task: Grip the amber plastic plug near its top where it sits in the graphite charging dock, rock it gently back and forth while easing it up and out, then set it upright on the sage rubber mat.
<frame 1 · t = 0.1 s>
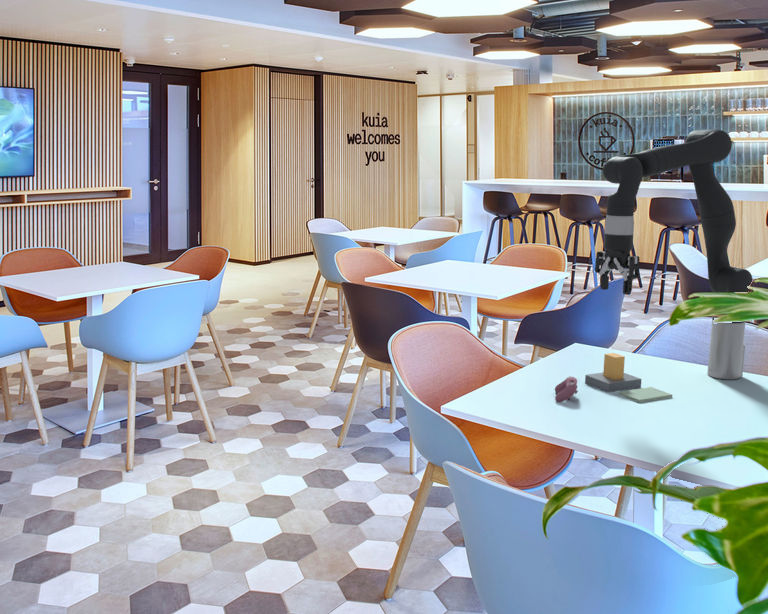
hand: (615, 291, 214), 29 cm above the table, fingers open, 8 cm apart
pink toy: (565, 398, 216), on the table
graphite dock: (612, 385, 228), on the table
sage mat: (645, 396, 218), on the table
amber plug: (613, 370, 227), in the graphite dock
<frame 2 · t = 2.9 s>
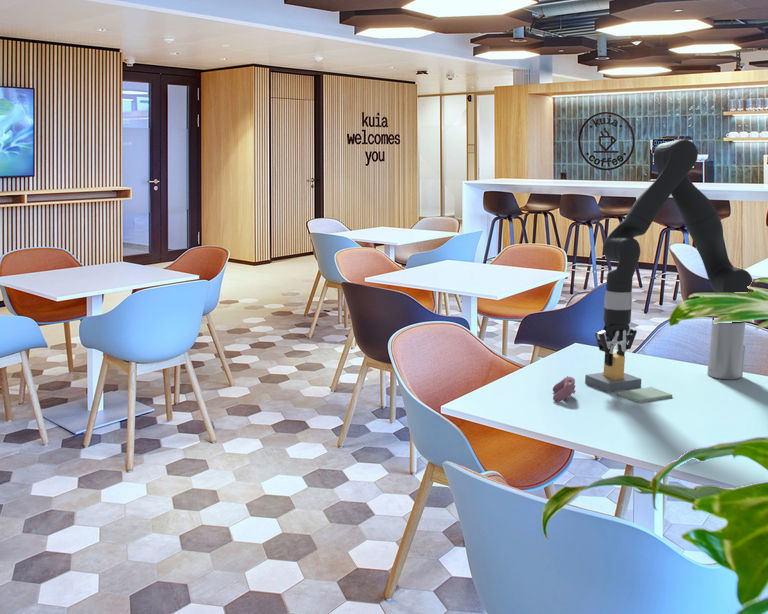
hand: (614, 364, 227), 6 cm above the table, fingers closed on amber plug, 3 cm apart
amber plug: (613, 370, 227), in the graphite dock, touching gripper
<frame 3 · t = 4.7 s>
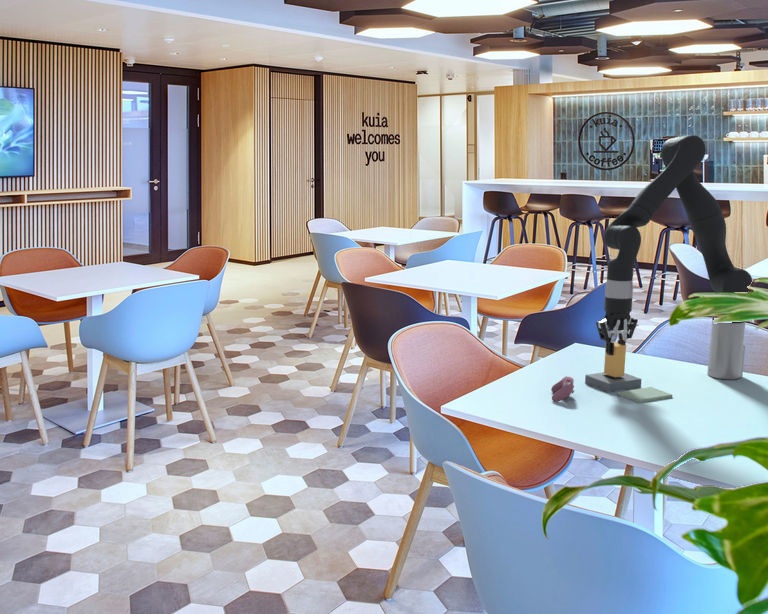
hand: (615, 353, 226), 9 cm above the table, fingers closed on amber plug, 3 cm apart
amber plug: (614, 359, 227), point 8 cm above the table, touching gripper
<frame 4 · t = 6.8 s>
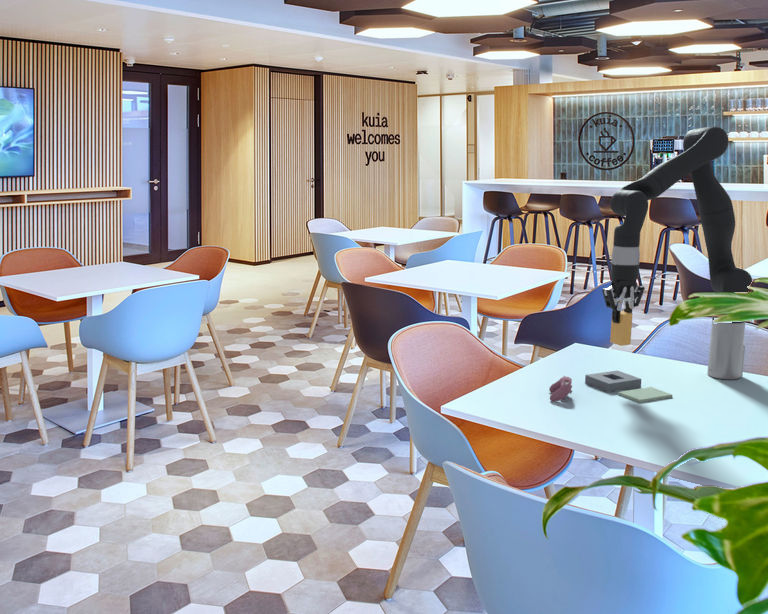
hand: (621, 322, 223), 19 cm above the table, fingers closed on amber plug, 3 cm apart
amber plug: (621, 328, 224), point 17 cm above the table, touching gripper
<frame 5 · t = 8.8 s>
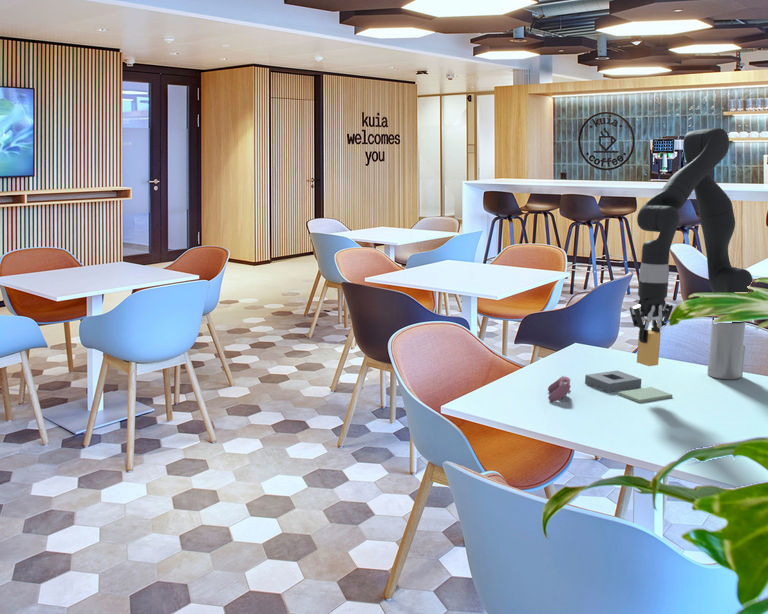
hand: (648, 341, 215), 16 cm above the table, fingers closed on amber plug, 3 cm apart
amber plug: (648, 347, 215), point 14 cm above the table, touching gripper
when the fingers open (8 cm above the table, at t = 10.8 s): amber plug stays where it is, resting on sage mat.
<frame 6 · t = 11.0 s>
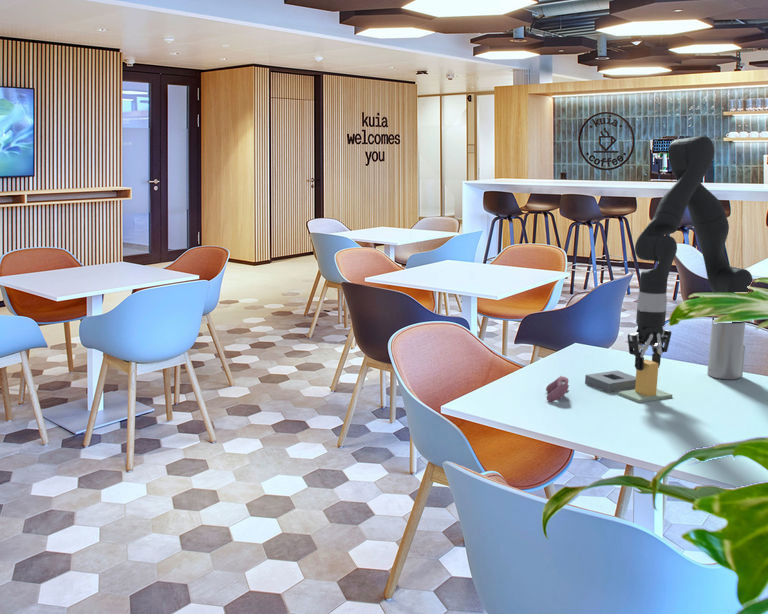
hand: (647, 368, 216), 8 cm above the table, fingers open, 5 cm apart
amber plug: (646, 377, 217), on the sage mat, point 5 cm above the table
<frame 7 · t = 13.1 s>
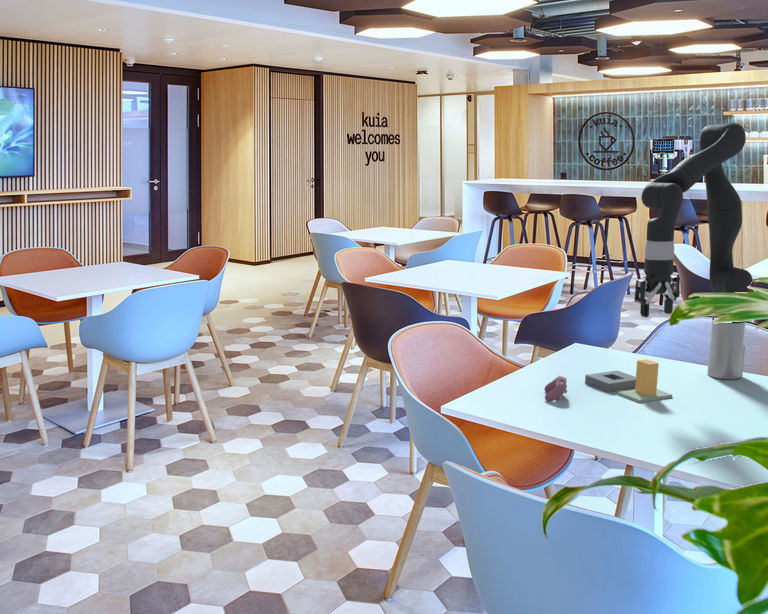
hand: (656, 315, 217), 22 cm above the table, fingers open, 8 cm apart
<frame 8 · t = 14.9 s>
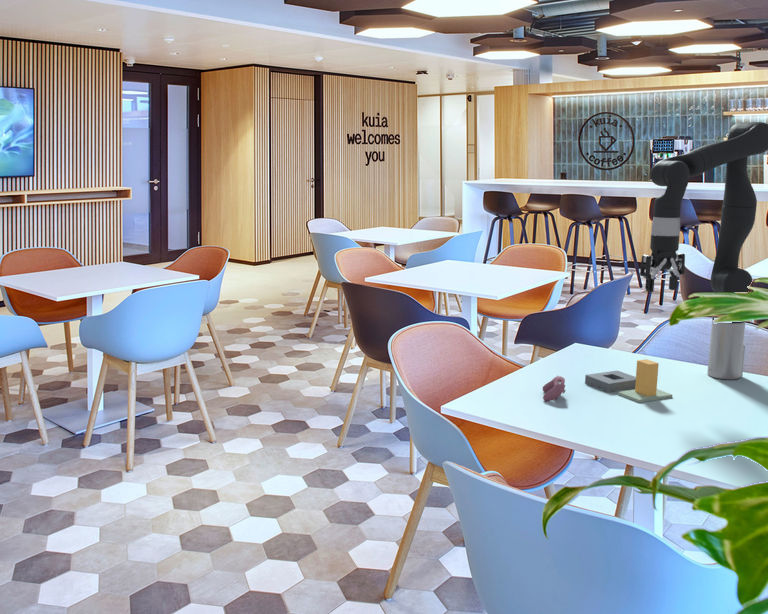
hand: (661, 290, 222), 28 cm above the table, fingers open, 8 cm apart
at the end: amber plug inside the target area on the sage mat (0.0 cm from its centre), point 5.3 cm above the sage mat's base; amber plug tilted 0°; the gripper is holding nothing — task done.
